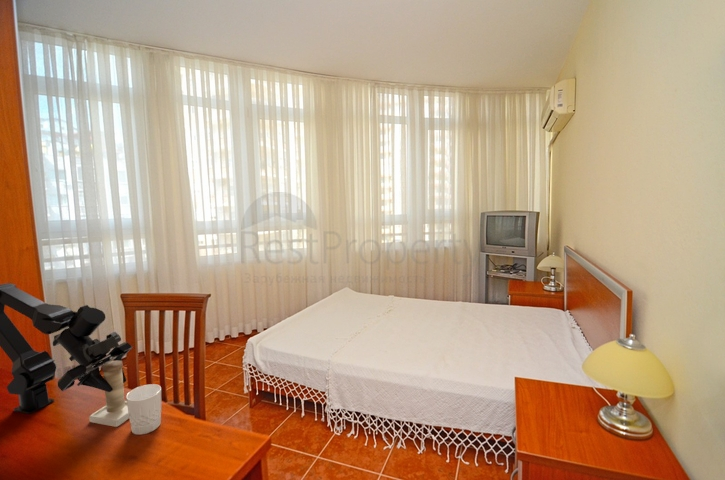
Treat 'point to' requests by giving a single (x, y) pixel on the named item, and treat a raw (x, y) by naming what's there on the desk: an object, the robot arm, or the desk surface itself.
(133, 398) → the white cup
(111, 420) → the tray
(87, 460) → the desk surface
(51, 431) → the desk surface
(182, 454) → the desk surface
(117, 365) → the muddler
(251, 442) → the desk surface
